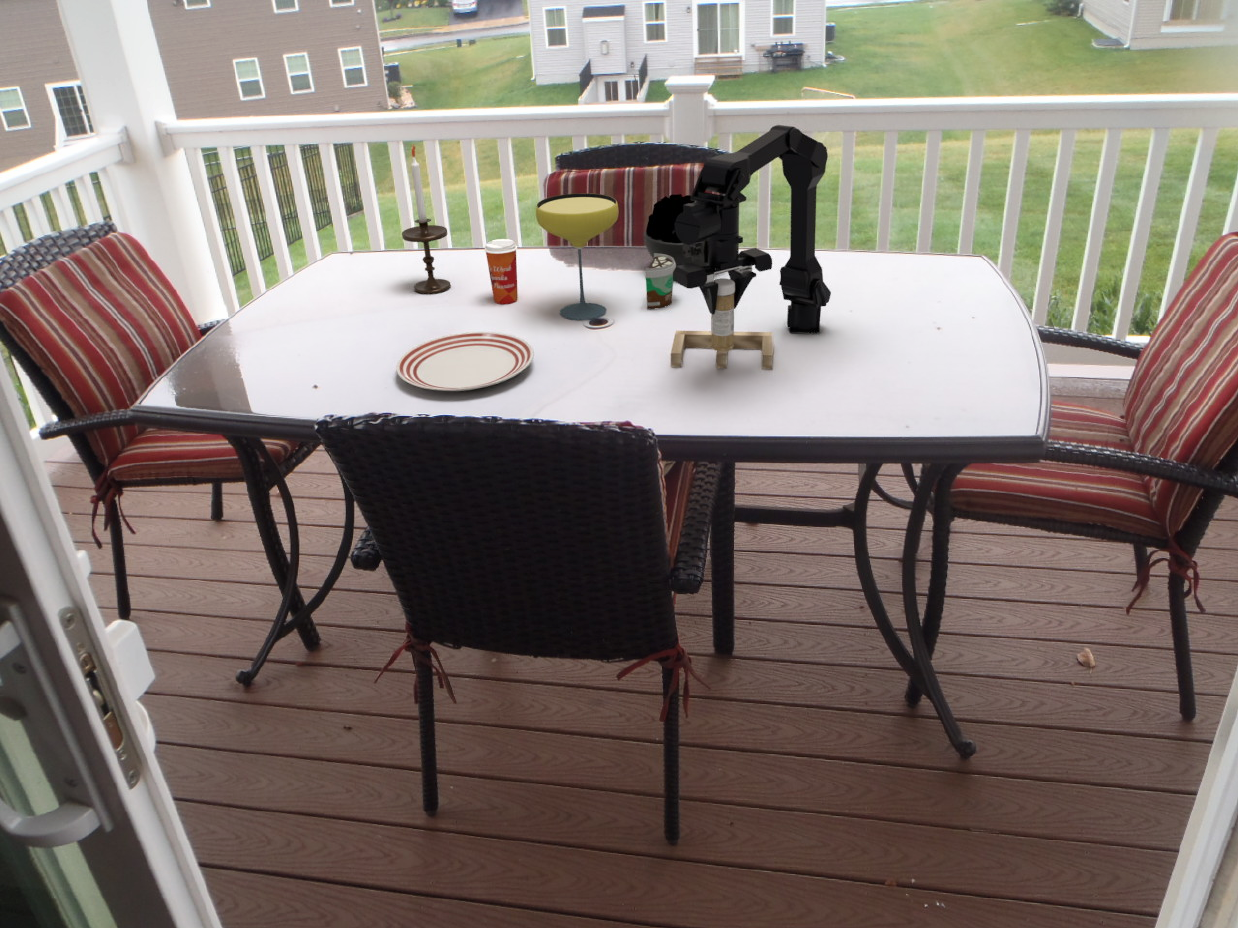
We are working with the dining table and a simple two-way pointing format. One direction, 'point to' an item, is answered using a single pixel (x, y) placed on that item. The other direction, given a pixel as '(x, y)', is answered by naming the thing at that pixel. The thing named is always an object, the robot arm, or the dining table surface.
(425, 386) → the dinner plate
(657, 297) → the food container
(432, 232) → the candlestick
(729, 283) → the sprinkles bottle
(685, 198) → the coal bowl
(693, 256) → the robot arm
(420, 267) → the dining table surface
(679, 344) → the comb rack
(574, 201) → the cocktail glass
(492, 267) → the paper cup
